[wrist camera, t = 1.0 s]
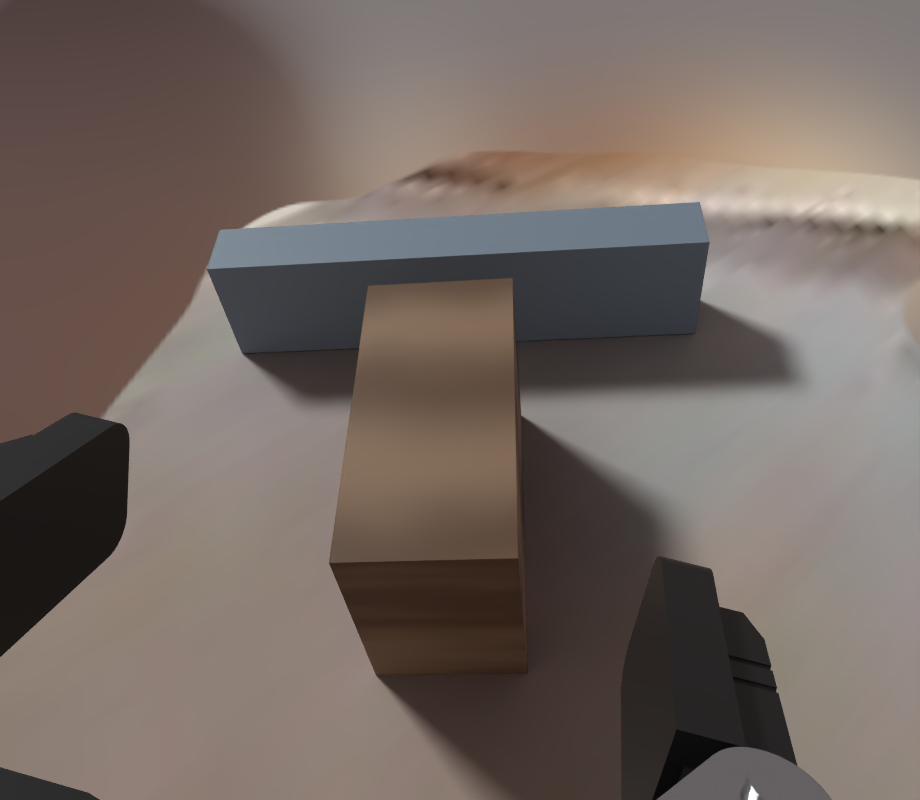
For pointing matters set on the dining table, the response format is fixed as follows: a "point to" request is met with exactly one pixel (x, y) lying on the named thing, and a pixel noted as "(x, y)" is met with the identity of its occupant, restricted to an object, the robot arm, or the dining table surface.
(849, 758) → the dining table surface
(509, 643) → the walnut block
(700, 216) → the grey board
